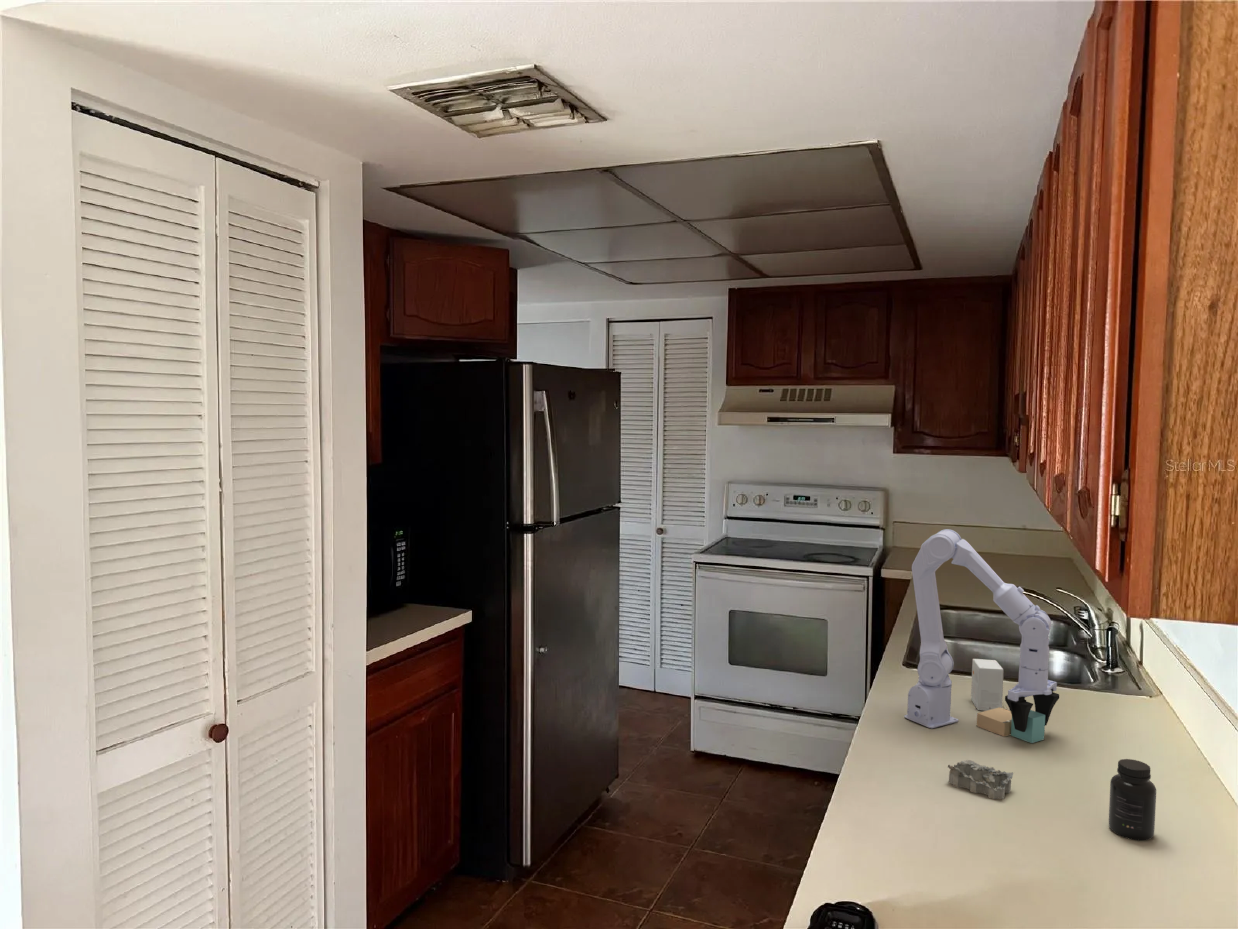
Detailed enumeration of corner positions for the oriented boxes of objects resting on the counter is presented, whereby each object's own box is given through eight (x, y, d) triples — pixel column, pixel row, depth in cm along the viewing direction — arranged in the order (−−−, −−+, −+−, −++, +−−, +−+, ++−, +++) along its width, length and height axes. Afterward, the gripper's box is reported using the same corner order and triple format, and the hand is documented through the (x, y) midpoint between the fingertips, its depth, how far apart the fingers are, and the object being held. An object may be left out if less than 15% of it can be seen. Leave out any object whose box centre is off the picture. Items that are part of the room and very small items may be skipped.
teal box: (1031, 743, 185) (1033, 718, 185) (1010, 735, 190) (1012, 710, 189) (1044, 739, 188) (1045, 714, 187) (1023, 731, 192) (1024, 707, 191)
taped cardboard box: (1004, 736, 189) (1004, 722, 189) (976, 726, 195) (977, 712, 195) (1026, 730, 193) (1027, 716, 193) (998, 720, 199) (999, 706, 199)
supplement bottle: (1111, 818, 152) (1115, 752, 151) (1156, 831, 148) (1161, 763, 147) (1104, 832, 147) (1108, 765, 146) (1150, 846, 143) (1155, 776, 142)
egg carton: (943, 785, 165) (944, 764, 165) (960, 773, 171) (961, 753, 170) (999, 804, 158) (1000, 782, 157) (1015, 791, 163) (1016, 770, 163)
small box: (1002, 712, 204) (1004, 669, 203) (977, 710, 205) (979, 667, 204) (994, 701, 212) (996, 659, 211) (970, 699, 213) (972, 658, 212)
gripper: (1030, 676, 180) (1027, 739, 181) (1071, 666, 187) (1067, 727, 188) (1000, 667, 186) (997, 728, 187) (1040, 658, 193) (1038, 716, 194)
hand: (1030, 727), depth 188 cm, fingers open, 7 cm apart
